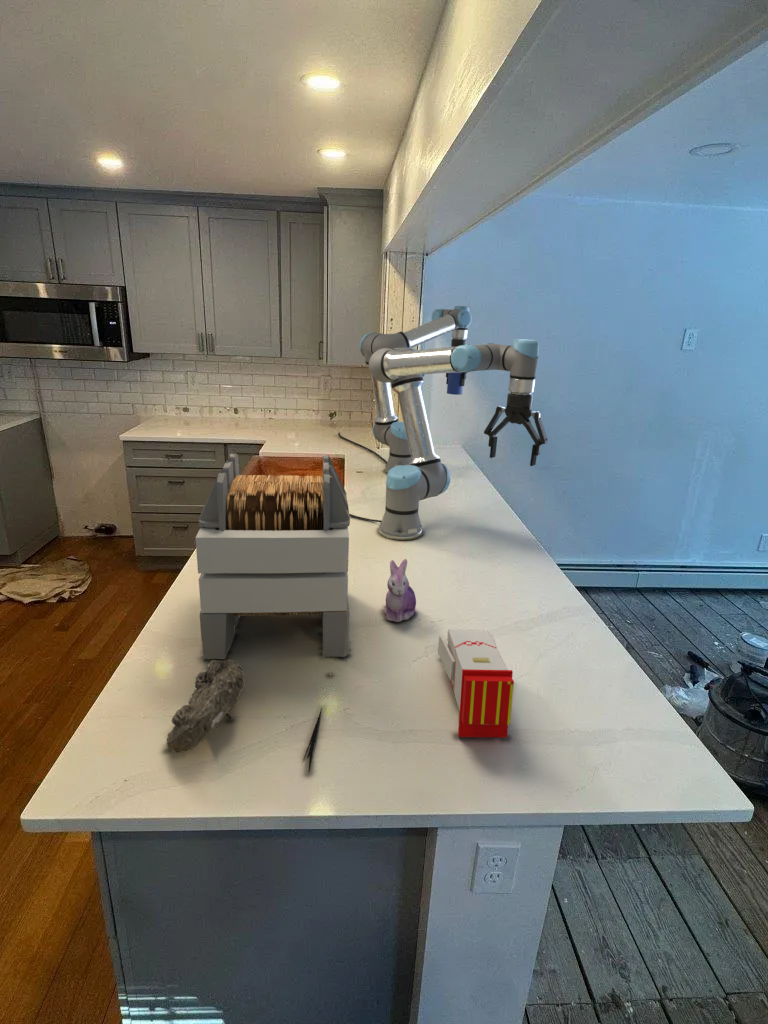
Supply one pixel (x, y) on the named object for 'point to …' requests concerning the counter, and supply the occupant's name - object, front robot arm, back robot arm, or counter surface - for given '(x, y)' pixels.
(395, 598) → the figurine
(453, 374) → the cylinder
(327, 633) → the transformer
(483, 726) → the toy
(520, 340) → the front robot arm
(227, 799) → the counter surface
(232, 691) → the fossil
